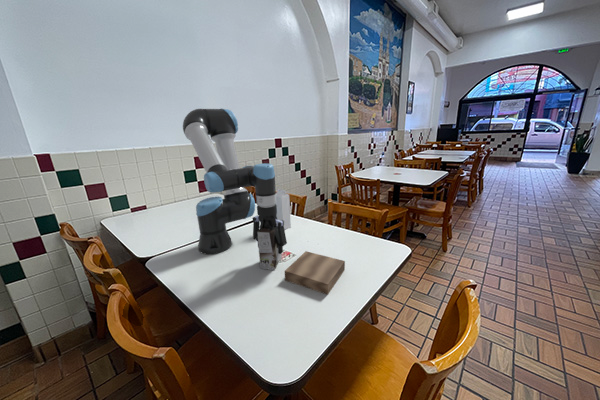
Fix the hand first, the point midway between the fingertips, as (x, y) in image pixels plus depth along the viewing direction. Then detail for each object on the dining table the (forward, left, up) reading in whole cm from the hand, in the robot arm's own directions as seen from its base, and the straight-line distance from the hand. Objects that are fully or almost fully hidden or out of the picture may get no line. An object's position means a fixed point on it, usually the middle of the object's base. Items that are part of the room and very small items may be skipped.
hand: (270, 257), depth 99 cm
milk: (-16, +33, -3) cm, 37 cm away
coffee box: (0, 0, -3) cm, 3 cm away
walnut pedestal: (+20, +1, -3) cm, 20 cm away
